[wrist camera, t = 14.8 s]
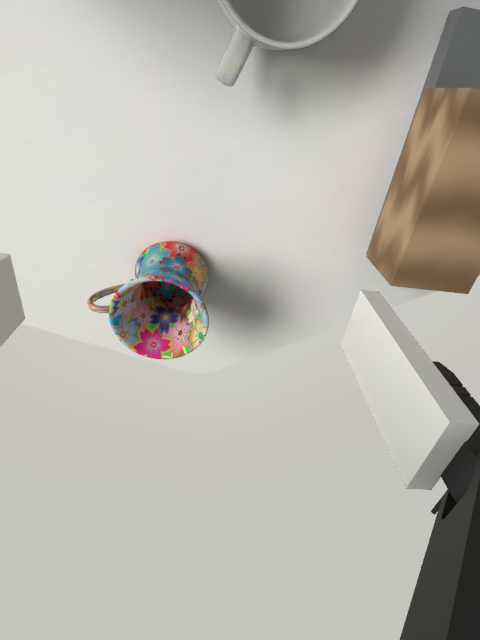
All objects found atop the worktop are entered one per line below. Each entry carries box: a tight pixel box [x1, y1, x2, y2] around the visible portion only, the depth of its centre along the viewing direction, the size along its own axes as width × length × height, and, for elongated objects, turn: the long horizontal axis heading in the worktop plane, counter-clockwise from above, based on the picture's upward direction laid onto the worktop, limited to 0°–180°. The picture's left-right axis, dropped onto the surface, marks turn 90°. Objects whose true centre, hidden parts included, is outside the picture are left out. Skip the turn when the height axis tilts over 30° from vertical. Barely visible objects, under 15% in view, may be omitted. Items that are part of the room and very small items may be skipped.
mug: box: [88, 241, 209, 359], centre depth 38 cm, size 12×9×11 cm
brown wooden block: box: [366, 88, 480, 294], centre depth 33 cm, size 16×8×7 cm, turn 172°
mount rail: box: [367, 7, 480, 254], centre depth 34 cm, size 22×6×5 cm, turn 173°
